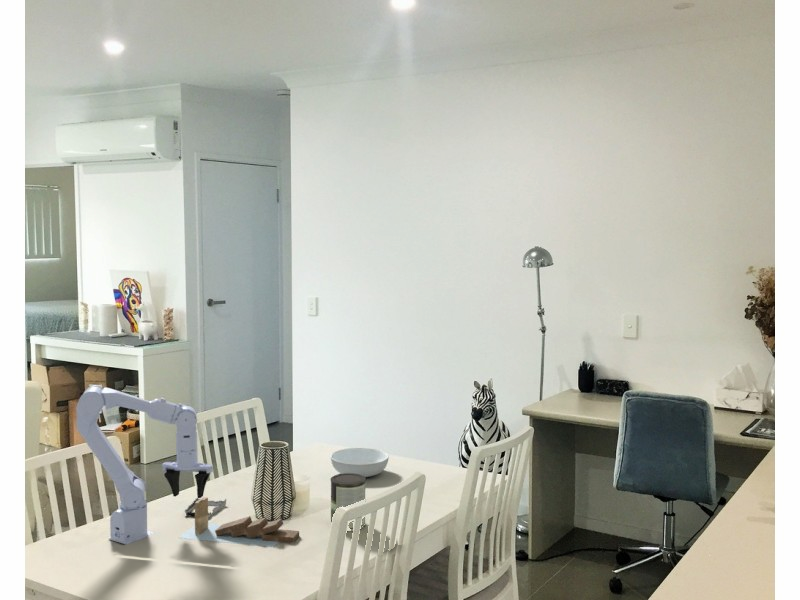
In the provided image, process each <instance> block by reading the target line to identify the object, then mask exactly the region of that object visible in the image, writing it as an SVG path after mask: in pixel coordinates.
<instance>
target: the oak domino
mask: <svg viewBox="0 0 800 600" xmlns="http://www.w3.org/2000/svg"><path fill="white" fill-rule="evenodd" d="M198 499H199V500H198V501H197V502H195V507H194V512H195V516H194V525H195V534H199V535H201V534H202V533H203V532H204V531H205V530H207V529H208V524H209V518H208V513H209V505H208V501H209V497H207V496H206V497H205V496H202V497H201V498H198Z"/></svg>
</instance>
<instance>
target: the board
mask: <svg viewBox="0 0 800 600" xmlns="http://www.w3.org/2000/svg"><path fill="white" fill-rule="evenodd" d="M221 525H222V524H219V523H218V524H216V523H208V529H207V530H205V531H204V532H203V533H202V534H201V535H199V534H195V524H194V525H193V526H192V527H190V528H189V529H188V530H187V531H185V532H184V533H183V534H181V535H179V537H178V539H186V540H187V539H188V540H196V541H207V542H216V543H217V542H218V543H227V544H239V545H249V546H250V545H251V546H259V547H261V546H262V547H270V548H275V547H276V546H277V545H278V543H279V542H274V541H263V540H262V535H260V536H256V537H253V538H250V539H248V537H247V534H243V535H240V536H237V537H232V535H231V532H229V533H226V534H223V535H219V536H216V533H215V530H216V529H218V528H219V527H220V526H221Z"/></svg>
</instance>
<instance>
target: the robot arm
mask: <svg viewBox="0 0 800 600" xmlns="http://www.w3.org/2000/svg"><path fill="white" fill-rule="evenodd" d="M166 400H167V399H166V398H164V397H160V398H154V399H153V400H147V399H144V398H140V397H137V396H135V395H133V394H132V395H131V394H129V393H126V392H122V391H120V390H116V389H113V388H110V387H104V388H103V387H102V386H99V385H92V386H89V387H87V388H85V390H84V392H83V393H82V395H81V396H80V397H79V399H78V402H77V405H76V407H75V409H76V430H77V432H78V433H79V434H80V436H81V437H82V439H83V440H84V442H85V443H86V444H87V446H88V448H89V449H90V451H92V453H93V454H94V456H95V457H96V458H97V460H98V461H99V463H100V465H101V466H102V467H103V468H104V470H105V471H106V472H107V474H108V475H109V477H110V478H111V480H112V481H113V484H114V487H115V489H116V491H117V493H118V494H119V500H120V502H119V507H118V508H117V509H116V510H115V511H113V512H112V513H111V515H110V520H109V521H110V524H109V525H110V528H109V529H110V536H108V540H110V541H114V542H116V543H119V544H120V543H121V544H124V545H128V544H131V543H133V542H136V541H138V540H141V539H143V538H146V537H149V536H151V535H153V534H155V532H153V531H150V530H148V501H147V500H146V499H145V493H146V490H147V486H146V482H145V481H144V480H143V479H142V478H140V477H139V476H137V475H136V474H135V473H134V472H133V471H132V470H131V469H130V468H128V466H127V464H126V463H125V462H124V460H123V458H122V457H121V456H120V455H119V454H118V452H117V450H116V449H115V447H114V446H113V445H112V443H111V442H110V440H109V438H108V437H107V436H106V434H105V433H104V431H102V429H101V427H100V426H99V425H98V419H99V415H100V412H102V409H103V407H104V406H105V410H109V409H113V408H115V407H121V408H126V409H130V410H134V411H138V412H143V413H146V414H147V415H148V417H149V419H151V420H155V421H158V422H162V423H166V424H169V425H176V432H175V433H176V434H175V441H176V443H175V444H176V461H173V462H171V461H166V462H163V463H162V464H161V465H162V466H161V467H162V469H161V470H162V472H163V471H164V472H165V473H164V477H165V479H166V480H167V482H168V484H169V486H170V489H171V492H172V497H177V496H178V495H180V476H181V472H189V473H191V472H193V473H196V474H194V478H195V482H196V491H197V492H196V494H197V498H198V499H201V498H202V497H204V492H205V488H206V484H207V482H208V479H209V477H210V476H211V473H212V472H214V469H213V467H214V466H213V464H207V463H203V462H199V461H198V459H199V457H198V455H199V454H198V432H197V422H198V418H197V412H196V410H195V408H194V407H193V406H190V405H189V404H183V403H180V402H179V403H178V404H177V403H174V402H171V401H166Z"/></svg>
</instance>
